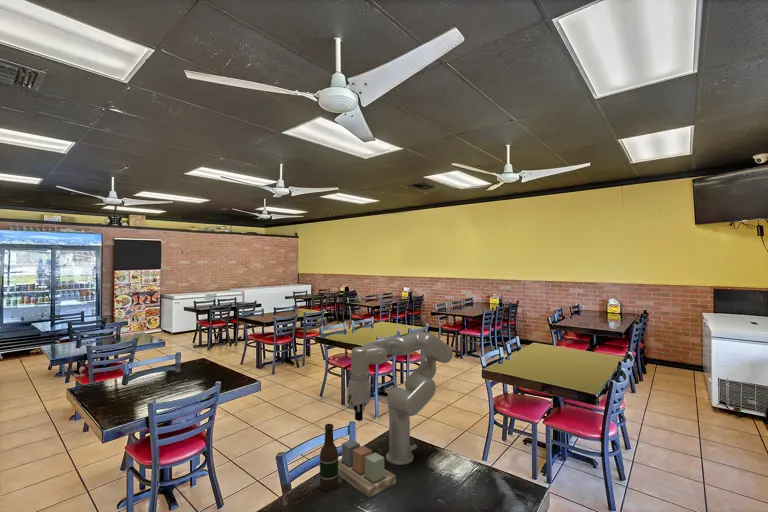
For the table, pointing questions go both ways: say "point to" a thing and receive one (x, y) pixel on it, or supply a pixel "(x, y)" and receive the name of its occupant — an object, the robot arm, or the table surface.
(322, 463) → the beer bottle
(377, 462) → the sage key
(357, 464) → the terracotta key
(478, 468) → the table surface
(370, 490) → the birch board
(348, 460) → the slate key
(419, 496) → the table surface
